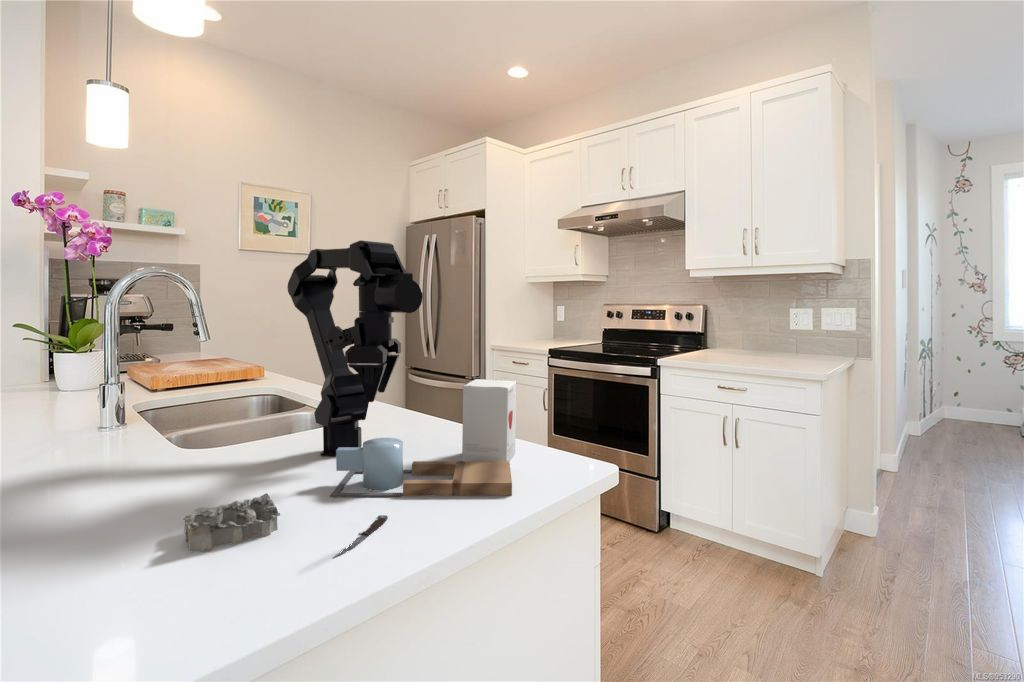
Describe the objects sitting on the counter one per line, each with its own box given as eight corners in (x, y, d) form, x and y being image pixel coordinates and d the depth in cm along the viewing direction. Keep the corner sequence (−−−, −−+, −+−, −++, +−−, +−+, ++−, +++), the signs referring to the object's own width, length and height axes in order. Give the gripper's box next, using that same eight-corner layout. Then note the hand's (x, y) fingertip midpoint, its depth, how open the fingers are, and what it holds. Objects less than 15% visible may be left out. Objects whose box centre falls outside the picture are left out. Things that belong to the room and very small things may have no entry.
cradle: (402, 495, 82) (402, 483, 81) (413, 472, 92) (413, 461, 92) (511, 495, 82) (512, 482, 82) (509, 472, 93) (509, 461, 93)
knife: (371, 512, 74) (390, 514, 73) (372, 517, 74) (390, 519, 73) (293, 574, 58) (316, 578, 57) (293, 580, 58) (316, 584, 57)
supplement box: (507, 466, 96) (508, 387, 95) (461, 463, 98) (461, 385, 97) (516, 452, 105) (517, 380, 104) (474, 449, 107) (474, 378, 106)
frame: (329, 497, 81) (329, 495, 80) (350, 471, 92) (350, 469, 92) (400, 496, 81) (400, 494, 81) (412, 471, 93) (412, 469, 93)
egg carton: (186, 559, 62) (185, 526, 61) (183, 535, 68) (181, 505, 68) (282, 536, 68) (281, 506, 67) (271, 516, 74) (270, 488, 74)
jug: (405, 476, 90) (405, 437, 90) (399, 490, 84) (399, 448, 83) (343, 477, 90) (342, 437, 89) (332, 490, 83) (331, 448, 83)
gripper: (344, 310, 102) (345, 387, 103) (312, 312, 84) (314, 407, 85) (401, 310, 103) (401, 388, 104) (381, 313, 84) (382, 407, 85)
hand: (376, 396), depth 95 cm, fingers open, 9 cm apart
